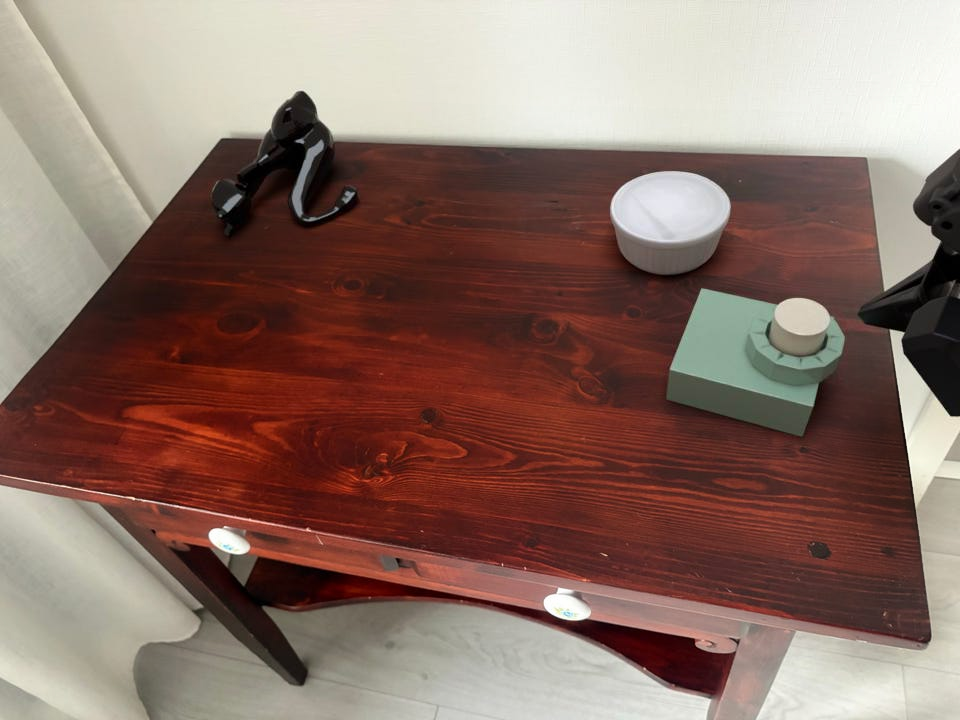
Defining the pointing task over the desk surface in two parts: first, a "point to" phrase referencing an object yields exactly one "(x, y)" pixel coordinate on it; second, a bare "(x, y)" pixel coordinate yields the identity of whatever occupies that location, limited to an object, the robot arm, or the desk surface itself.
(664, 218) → the ramekin
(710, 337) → the button base
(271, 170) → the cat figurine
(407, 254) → the desk surface
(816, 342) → the cream cylindrical button
